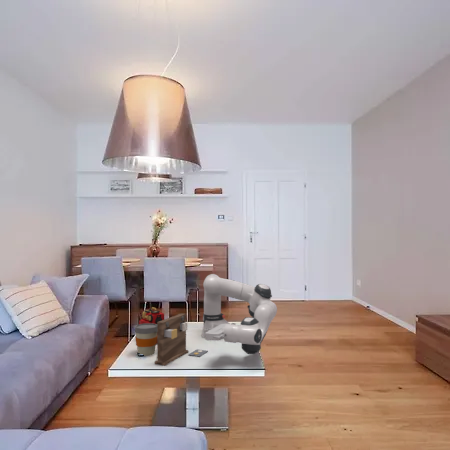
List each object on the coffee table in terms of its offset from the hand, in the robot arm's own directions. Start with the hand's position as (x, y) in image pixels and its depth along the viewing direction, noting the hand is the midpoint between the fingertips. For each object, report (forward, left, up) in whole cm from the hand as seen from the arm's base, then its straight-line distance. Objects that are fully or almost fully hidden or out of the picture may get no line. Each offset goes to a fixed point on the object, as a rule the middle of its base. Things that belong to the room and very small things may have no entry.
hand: (205, 330), depth 190 cm
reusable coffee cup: (+31, -14, -15) cm, 37 cm away
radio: (+29, -37, -15) cm, 49 cm away
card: (+3, -9, -15) cm, 18 cm away
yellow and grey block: (+19, +3, -2) cm, 19 cm away
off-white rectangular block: (+13, -11, -2) cm, 17 cm away
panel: (+17, -4, -15) cm, 23 cm away
